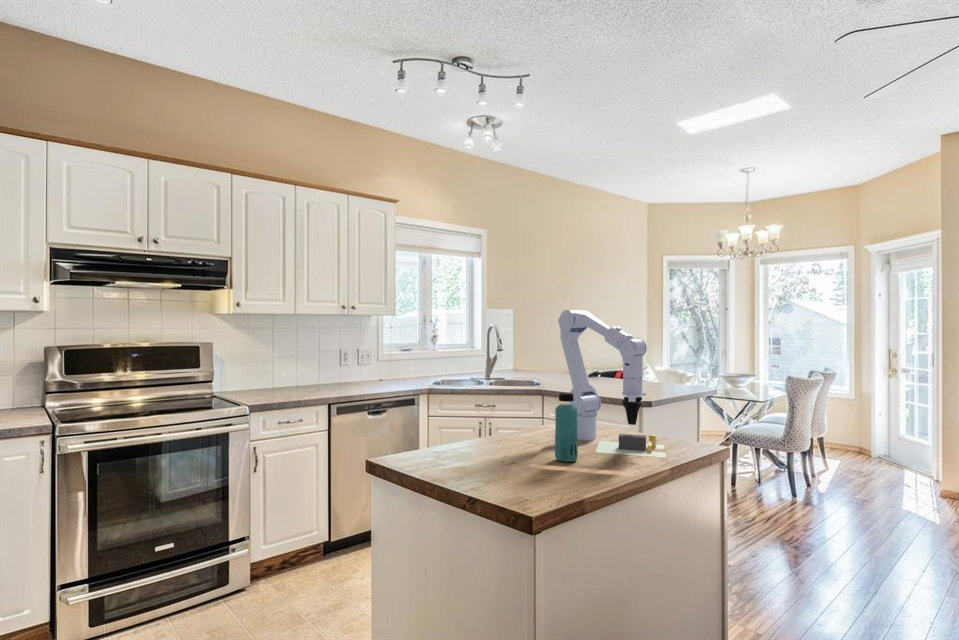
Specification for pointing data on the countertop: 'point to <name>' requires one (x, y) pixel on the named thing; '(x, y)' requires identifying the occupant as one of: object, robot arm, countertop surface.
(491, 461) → the countertop surface
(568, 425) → the beverage bottle
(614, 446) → the pale green u-shaped slab
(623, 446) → the tall gray prism
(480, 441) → the countertop surface
